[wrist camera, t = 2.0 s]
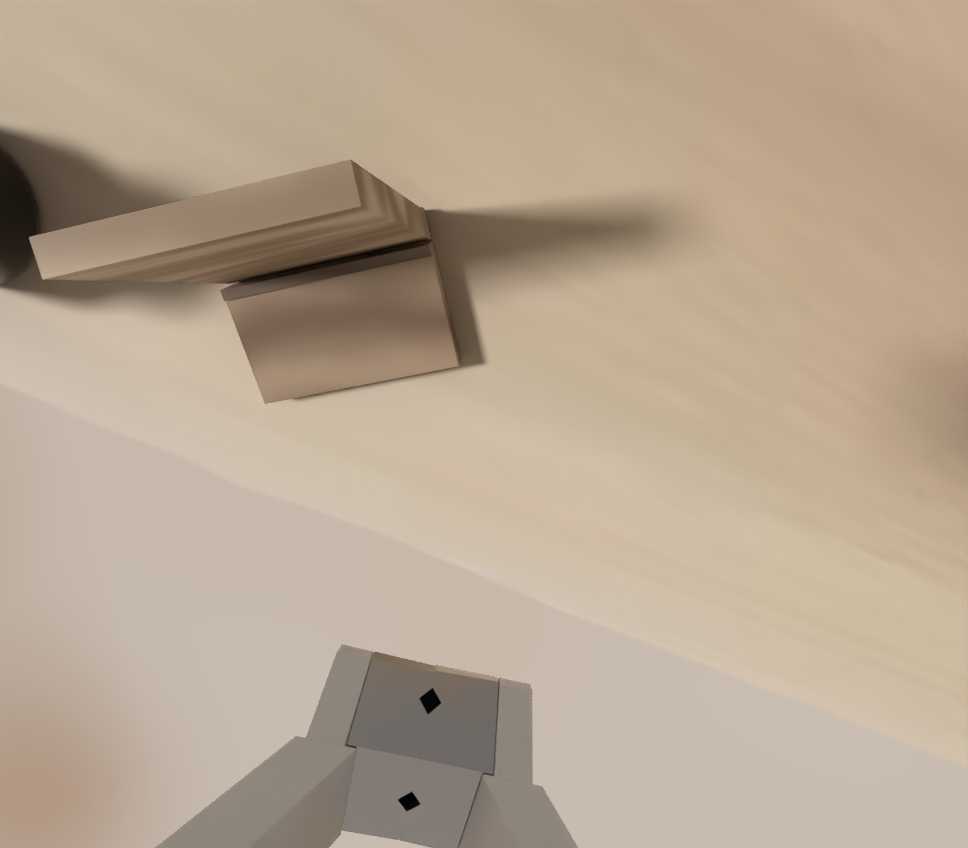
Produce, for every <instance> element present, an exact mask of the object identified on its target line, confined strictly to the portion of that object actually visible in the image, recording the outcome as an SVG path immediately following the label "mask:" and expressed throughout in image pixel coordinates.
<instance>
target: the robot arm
mask: <svg viewBox="0 0 968 848" xmlns="http://www.w3.org/2000/svg"><path fill="white" fill-rule="evenodd" d="M341 830H343V831H349V832H355V833H361V834H367V835H373V836H379V837H385V838H390V839H396V840H399V839H400V840H402V841H406V842H410V843H414V844H419V845H423V846H427V847H432V848H578V847H577V845H576V843H575V842H574V840H573V838H572V836H571V835H570V833H569V832H568V830H567V828H566V826H565V824H564V823H563V821H562V819H561V818H560V816H559V814H558V813H557V811H556V809H555V807H554V806H553V804H552V802H551V801H550V799H549V797H548V796H547V794H546V792H545V790H544V789H543V787H542V786H538V785H534V784H532V689H531V686H530V684H526V683H521V682H516V681H511V680H507V679H502V678H498V679H497V677H494V676H489V675H483V674H478V673H473V672H468V671H463V670H458V669H453V668H448V667H442V666H438V665H436V666H433V665H429V664H425V663H421V662H416V661H412V660H408V659H404V658H400V657H395V656H391V655H387V654H383V653H378V652H372V651H368V650H364V649H359V648H355V647H351V646H346V645H341V647H340V648H339V650H338V652H337V654H336V657H335V659H334V662H333V665H332V667H331V670H330V673H329V676H328V678H327V681H326V684H325V687H324V689H323V692H322V695H321V698H320V700H319V704H318V706H317V709H316V712H315V714H314V717H313V720H312V723H311V725H310V728H309V731H308V734H307V737H306V738H303V737H298V736H296V737H294V738H293V739H292V740H290V741H289V742H288V743H287V744H285V745H284V746H283V747H282V748H280V749H279V750H278V751H277V752H275V753H274V754H273V755H272V756H270V757H269V758H268V759H267V760H265V761H264V762H263V763H262V764H260V765H259V766H258V767H257V768H255V769H254V770H253V771H251V772H250V773H249V774H248V775H246V776H245V777H244V778H243V779H241V780H240V781H239V782H238V783H236V784H235V785H234V786H233V787H231V788H230V789H229V790H227V791H226V792H225V793H224V794H222V795H221V796H220V797H219V798H218V799H216V800H215V801H214V802H212V803H211V804H210V805H209V806H207V807H206V808H205V809H204V810H202V811H201V812H200V813H198V814H197V815H196V816H195V817H194V818H192V819H191V820H190V821H188V822H187V823H186V824H185V825H183V826H182V827H181V828H180V829H178V830H177V831H176V832H175V833H173V834H172V835H171V836H170V837H168V838H167V839H166V840H164V841H163V842H162V843H161V844H159V845H158V846H157V847H156V848H329V847H330V846H331V845H332V843H333V842H334V841H335V840H336V839H337V838H338V837H339V836H340V834H341Z"/></svg>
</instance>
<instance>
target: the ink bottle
mask: <svg viewBox="0 0 968 848" xmlns="http://www.w3.org/2000/svg"><path fill="white" fill-rule="evenodd" d="M35 235H38V213H37V207H36V203H35V199H34V196H33V194H32V191H31V189H30V187H29V185H28V183H27V181H26V179H25V178H24V176H23V175H22V173H21V172H20V170H19V169H18V168H17V166H16V165H15V164H14V163H13V162H12V160H11V159H10V158H9V157H8V156H7V155H6V154H5V153H4V152H3V151H2V150H1V149H0V284H1V283H4V282H6V281H8V280H10V279H12V278H14V277H15V276H16V275H18V274H19V273H20V272H21V271H22V270H23V269H24V268H25V267H26V265H27V264H28V262H29V261H30V259H31V257H32V255H33V253H34V252H33V249H32V246H31V243H30V240H29V237H31V236H35Z"/></svg>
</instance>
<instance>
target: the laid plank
mask: <svg viewBox="0 0 968 848" xmlns="http://www.w3.org/2000/svg"><path fill="white" fill-rule="evenodd" d="M220 291H221V293H222V296H223V299H224V301H226V302H227V305H228V307H229V310H230V313H231V315H232V318H233V320H234V323H235V326H236V328H237V331H238V334H239V336H240V339H241V342H242V344H243V347H244V350H245V352H246V355H247V358H248V360H249V363H250V365H251V368H252V371H253V373H254V376H255V379H256V381H257V384H258V387H259V389H260V392H261V395H262V397H263V400H264V402H265V404H267V403H272V402H277V401H282V400H287V399H292V398H298V397H303V396H308V395H313V394H318V393H323V392H329V391H334V390H339V389H344V388H349V387H354V386H360V385H365V384H370V383H375V382H380V381H385V380H391V379H396V378H401V377H406V376H411V375H416V374H422V373H427V372H432V371H437V370H442V369H447V368H452V367H458V366H459V363H460V359H461V357H460V353H459V349H458V345H457V341H456V337H455V332H454V328H453V324H452V320H451V316H450V312H449V307H448V303H447V299H446V295H445V291H444V287H443V282H442V278H441V274H440V270H439V266H438V262H437V257H436V253H435V249H434V245H433V241H428V242H423V243H419V244H414V245H410V246H405V247H401V248H396V249H392V250H387V251H382V252H378V253H373V254H369V255H364V256H360V257H355V258H351V259H346V260H342V261H337V262H332V263H328V264H323V265H319V266H314V267H310V268H305V269H301V270H296V271H292V272H287V273H282V274H278V275H273V276H269V277H264V278H260V279H255V280H251V281H246V282H242V283H237V284H233V285H231V286H229V287H227V288H225V289H222V290H220Z"/></svg>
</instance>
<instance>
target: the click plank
mask: <svg viewBox="0 0 968 848" xmlns="http://www.w3.org/2000/svg"><path fill="white" fill-rule="evenodd" d="M429 239H431V237H430V232H429V227H428V222H427V218H426V213H425V210H424V208H422V207H418V206H417V205H415V204H414V203H413V202H411V201H410V200H408V199H407V198H405V197H404V196H402V195H401V194H400V193H398V192H397V191H395V190H394V189H392V188H391V187H389V186H388V185H387V184H385V183H384V182H382V181H381V180H379V179H378V178H376V177H375V176H373V175H372V174H371V173H369V172H368V171H366V170H365V169H363V168H362V167H360V166H359V165H358V164H356V163H355V162H353V161H352V160H347V161H343V162H339V163H335V164H331V165H326V166H322V167H318V168H314V169H310V170H306V171H301V172H297V173H293V174H289V175H285V176H281V177H276V178H272V179H268V180H264V181H260V182H256V183H251V184H247V185H243V186H239V187H235V188H231V189H226V190H222V191H218V192H214V193H210V194H206V195H201V196H197V197H193V198H189V199H185V200H181V201H176V202H172V203H168V204H164V205H160V206H156V207H152V208H147V209H143V210H139V211H135V212H131V213H127V214H122V215H118V216H114V217H110V218H106V219H102V220H97V221H93V222H89V223H85V224H81V225H77V226H72V227H68V228H64V229H60V230H56V231H52V232H47V233H43V234H39V235H35V236H31V237H29V240H30V243H31V246H32V249H33V252H34V255H35V258H36V261H37V264H38V267H39V270H40V273H41V277H42V280H86V281H132V282H179V283H225V284H229V283H234V282H239V281H243V280H248V279H252V278H257V277H261V276H266V275H270V274H275V273H279V272H284V271H288V270H293V269H298V268H302V267H307V266H311V265H316V264H320V263H325V262H329V261H334V260H338V259H343V258H347V257H352V256H357V255H361V254H366V253H370V252H375V251H379V250H384V249H388V248H393V247H397V246H402V245H406V244H411V243H416V242H420V241H425V240H429Z"/></svg>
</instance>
